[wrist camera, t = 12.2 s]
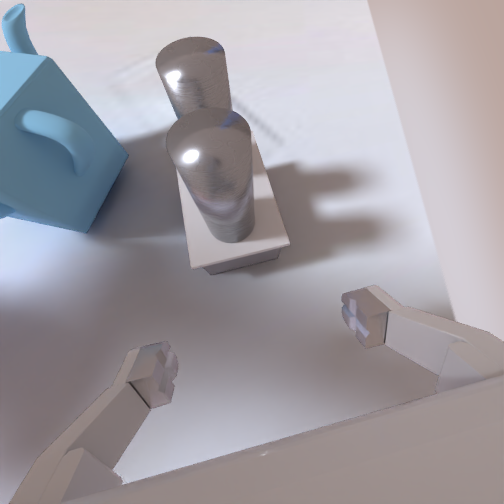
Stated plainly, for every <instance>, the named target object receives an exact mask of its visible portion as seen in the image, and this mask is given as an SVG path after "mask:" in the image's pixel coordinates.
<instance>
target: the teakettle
mask: <svg viewBox="0 0 504 504" xmlns="http://www.w3.org/2000/svg"><path fill="white" fill-rule="evenodd" d="M2 29H3V33H4V37H5V39H6V42H7V44H8V46H9V48H10V50H11V52H4V51H0V219H1V218H5V217H6V216H8V217H13V218H17V219H22V220H27V221H31V222H36V223H40V224H45V225H50V226H54V227H59V228H64V229H69V230H73V231H78V232H83V233H87V232H88V230H89V228H90V226H91V224H92V223H93V222H94V220H95V217H96V215H97V213H98V211H99V209H100V208H101V206H102V204H103V202H104V200H105V198H106V197H107V195H108V193H109V191H110V189H111V187H112V185H113V183H114V182H115V180H116V178H117V177H118V175H119V172H120V171H121V169H122V167H123V165H124V163H125V161H126V159H127V158H128V156H129V155H128V153H127V152H126V151H125V150H124V148H123V147H122V146H121V145H120V143H119V142H118V141H117V140H116V138H115V137H114V136H113V135H112V133H111V132H110V131H109V130H108V128H107V127H106V126H105V125H104V123H103V122H102V121H101V120H100V118H99V117H98V116H97V115H96V113H95V112H94V111H93V110H92V108H91V107H90V106H89V105H88V103H87V102H86V101H85V99H84V98H83V97H82V96H81V94H80V93H79V92H78V91H77V89H76V88H75V87H74V86H73V84H72V83H71V82H70V81H69V79H68V78H67V77H66V76H65V74H64V73H63V72H62V71H61V69H60V68H59V67H58V66H57V64H56V63H55V62H54V61H53V59H51V58H49V57H47V56H41V55H38V54H37V52H36V50H35V48H34V46H33V44H32V42H31V40H30V38H29V35H28V32H27V29H26V21H25V6H24V4H17V5H15V6H14V7H12V8H11V9H10V10H8V11H7V12H6V14H5V15H4V16H3V19H2Z"/></svg>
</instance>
